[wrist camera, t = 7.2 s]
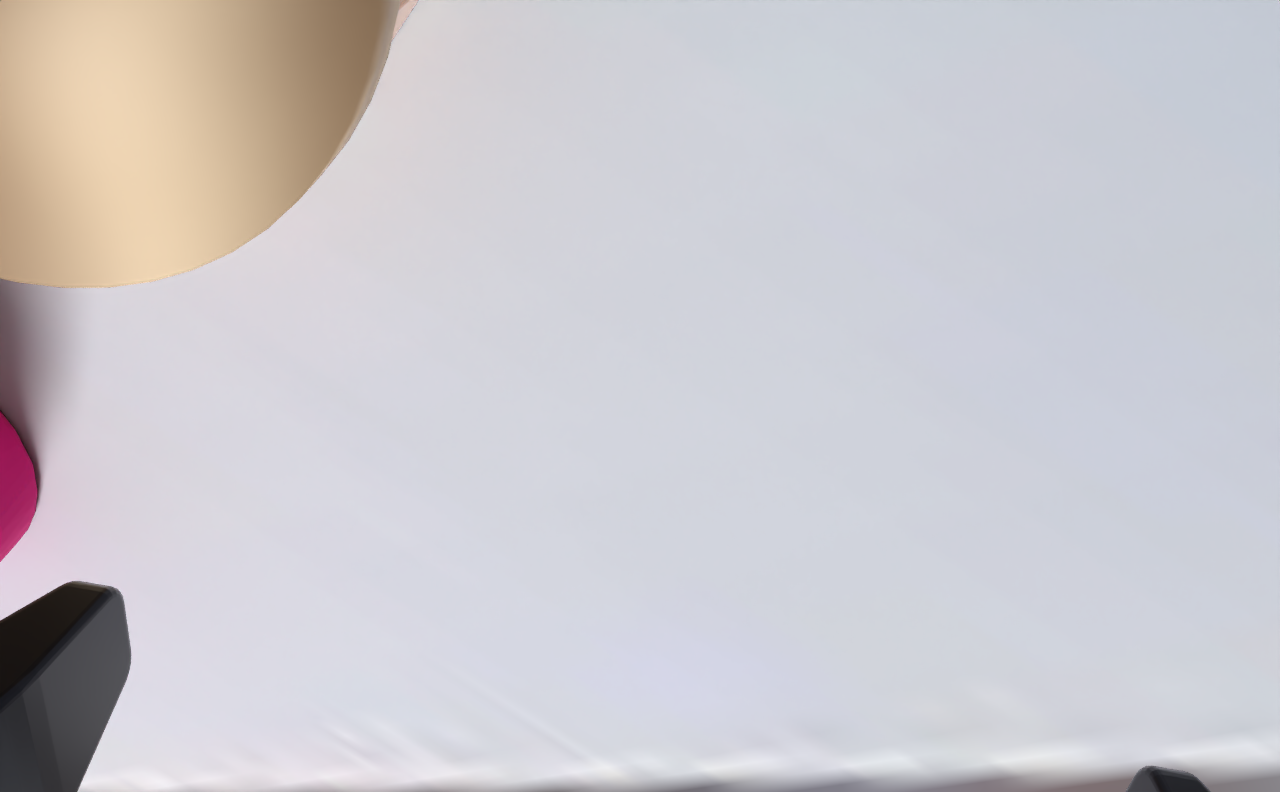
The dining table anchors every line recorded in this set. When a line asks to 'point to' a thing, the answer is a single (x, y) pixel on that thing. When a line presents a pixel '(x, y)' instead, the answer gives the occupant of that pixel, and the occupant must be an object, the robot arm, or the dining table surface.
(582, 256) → the dining table surface
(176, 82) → the lid
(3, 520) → the pepper mill
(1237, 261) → the dining table surface
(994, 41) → the dining table surface
